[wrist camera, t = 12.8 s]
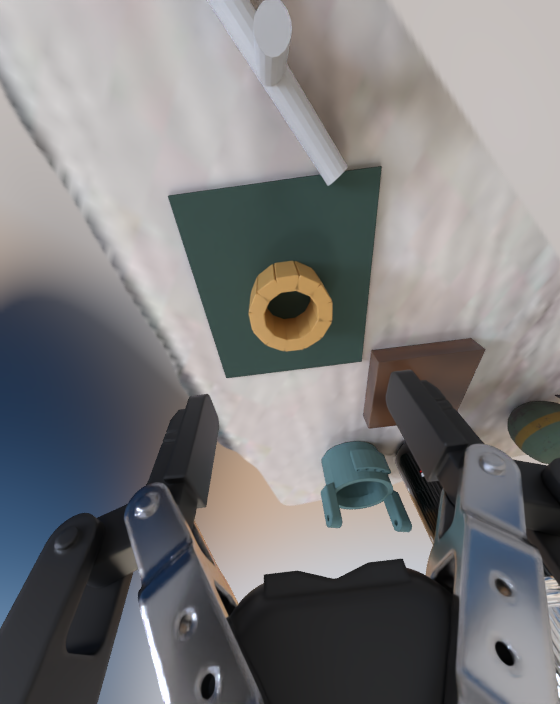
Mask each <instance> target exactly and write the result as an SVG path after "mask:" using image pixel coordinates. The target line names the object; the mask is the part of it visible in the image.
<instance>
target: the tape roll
mask: <svg viewBox="0 0 560 704" xmlns="http://www.w3.org/2000/svg"><path fill="white" fill-rule="evenodd" d="M291 291H298V292H301V293H303V294H305V295H308V296H310V303H309V305H308V306H307V308H306V310H305V312H303V313H302V314H300V315H299V316H297V317H296V318H289V319H282V318H279V317H277V316H274V315H272V313H271V312H270V311H269V310H268V309H267V306H268V304H269V302H270V301H271V300H272V299H273V298H275V297H276V296H278V295H279V294H280V293H283V292H291ZM332 310H333V303H332V299H331V297H330V296H329V294H328V292H327V290H326V289H325V287H324V285H323V283H322V282H321V280H320V279H319V277H318V276H317V274H316V273H315V271H314V270H312V268H310V267H308V266H306V265H304V264H301V263H299V262H297V261H295V262H294V261H286V262H278V263H274V265H273V264H272V265H270V266H269V267H268V268H267V269H265V270H264V271H263V272H262V273H260V274H259V275H258V277H257V278H256V280H255V283H254V286H253V288H252V291H251V296H250V305H249V318H250V322H251V327H252V330H253V332H254V334H255V335H256V336H257V337H258V338H259V339H260V340H261V341H262V342H263V343H264V344H265V345H266V344H267V346H269V347H272V348H275V349H278V350H281V351H284V350H285V351H294V350H302V349H304V348H307V347H309V346H311V345H312V344H314V343H315V342H317V341H319V340H320V339H321V338H323V336H324V334H325V333H326V331H327V330H328V328H329V326H330V325H331V323H332Z"/></svg>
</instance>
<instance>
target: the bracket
mask: <svg viewBox="0 0 560 704" xmlns="http://www.w3.org/2000/svg"><path fill="white" fill-rule="evenodd" d="M322 467H323V472H324V477H325V482H326V486H325V487H324V488H323V489H322V491H321V497H322V502H323V508H324V514H325V519H326V525H327V527H331V528H340V527H341V526H342V517H341V513H340V508H342V509H362V508H367V507H371V506H374V505H377V504H379V503H381V502H383V501H384V503H385V506H386V508H387V511H388V514H389V516H390V519H391V521H392V524H393V527H394V530H396V531H398V532H410V531H411V529H412V524H411V522H410V519H409V517H408V515H407V512H406V510H405V508H404V505H403V503H402V501H401V498H400V496H399V494H398V492H396V491H394V490H393V486H392V484H391V481H390V479H389V477H388V474H390V473H391V471H390V469H389V466H388V464H387V462H386V459H385V457H384V455H383V454H382V453H380V452H378V451H377V449H376V447H375V446H373V445H372V444H370V443H366V442H360V441H354V442H347V443H343V444H339V445H337V446H335V447H333V448H331V449H330V450H328V451H327V452H326V454H325V455H324V457H323V458H322Z"/></svg>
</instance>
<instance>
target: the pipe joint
mask: <svg viewBox="0 0 560 704" xmlns="http://www.w3.org/2000/svg"><path fill="white" fill-rule="evenodd" d="M207 1H208V3H209V4H210V6H211V7H212V9H213V11H214V12H215V14H216V15H217V17H218V18H219V20H220V21H221V23H222V24H223V26H224V27H225V29H226V30H227V32H228V34H229V35H230V37H231V38H232V40H233V41H234V43H235V44H236V46H237V47H238V49H239V50H240V52H241V54H242V55H243V57H244V58H245V60H246V61H247V63H248V64H249V66H250V67H251V69H252V70H253V72H254V73H255V75H256V77H257V78H258V80H259V81H260V83H261V84H262V86H263V87H264V89H265V90H266V92H267V93H268V95H269V96H270V98H271V100H272V101H273V103H274V104H275V106H276V107H277V109H278V110H279V112H280V113H281V115H282V116H283V118H284V119H285V121H286V123H287V124H288V126H289V127H290V129H291V130H292V132H293V133H294V135H295V136H296V138H297V139H298V141H299V142H300V144H301V146H302V147H303V149H304V150H305V152H306V153H307V155H308V156H309V158H310V159H311V161H312V162H313V164H314V165H315V167H316V169H317V170H318V172H319V173H320V175H321V176H322V178H323V179H324V181H325V182H326V184H327V185H328V186H329V185H330V184H332V183H333V182H334V181H335V180H336V179H337V178H338V177H339V176H340V175H341V174H342V173H343V172H344V171H345V170H346V169H347V167H348V166H347V164H346V163H345V161H344V159H343V158H342V156H341V154H340V152H339V151H338V149H337V147H336V146H335V144H334V142H333V141H332V139H331V137H330V136H329V134H328V132H327V130H326V129H325V127H324V125H323V124H322V122H321V120H320V119H319V117H318V115H317V113H316V112H315V110H314V108H313V107H312V105H311V103H310V102H309V100H308V98H307V97H306V95H305V93H304V91H303V90H302V88H301V86H300V85H299V83H298V81H297V80H296V78H295V76H294V75H293V73H292V71H291V69H290V68H289V66H288V64H287V59H288V53H289V47H290V41H291V34H292V25H291V18H290V15H289V13H288V10H287V8H286V7H285V5H284V4H283V3H282V1H281V0H264V1H263V2H262V3H261V4H260V5H259V7H258V9H257V11H256V10H255V8H254V7H253V5H252V3H251V2H250V0H207Z"/></svg>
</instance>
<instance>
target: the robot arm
mask: <svg viewBox="0 0 560 704" xmlns="http://www.w3.org/2000/svg"><path fill="white" fill-rule="evenodd" d="M386 404H387V407H388V410H389V412H390V414H391V415H392V417H393V419H394V421H395V423H396V425H397V426H398V428H399V430H400V432H401V434H402V436H403V437H404V439H405V441H406V443H407V445H408V447H409V449H410V450H411V452H412V454H413V456H414V458H415V460H416V461H417V463H418V465H419V467H420V469H421V471H422V473H423V474H424V476H425V478H426V480H427V482H431V481H439V482H440V484H441V485H442V487H443V489H442V491H441V497H440V504H439V511H438V518H437V525H436V532H435V539H434V543H433V547H432V549H431V552H430V556H429V559H428V564H427V569H426V575H424V574H422V573H420V572H417V571H415V570H412V569H409V568H406V566H405V564H404V561H403V559H395V560H387V561H378V562H370V563H367V564H365V565H363V566H361V567H359V568H357V569H355V570H353V571H351V572H349V573H347V574H345V575H343V576H341V577H339V578H337V579H332V578H327V577H323V576H319V575H314V574H310V573H305V572H301V571H291V572H282V573H275V574H266V575H264V583H263V584H261V585H259V586H258V587H256V588H255V589H253V590H252V591H251V592H250V593H248V594H247V595H246V596H245V597H244V598H243V599H242V600H241V602H240V603H239V604H238V602H237V600H236V598H235V596H234V594H233V592H232V590H231V588H230V586H229V584H228V583H227V581H226V579H225V577H224V576H223V574H222V573H221V571H220V569H219V568H218V566H217V564H216V562H215V560H214V558H213V556H212V554H211V552H210V550H209V548H208V546H207V544H206V542H205V540H204V538H203V536H202V535H201V532H200V530H199V528H198V527H197V525H196V523H195V521H194V519H195V514H196V509H197V508H203V507H206V505H207V497H208V492H209V485H210V479H211V474H212V468H213V462H214V456H215V449H216V443H217V437H218V431H219V420H218V416H217V413H216V411H215V408H214V406H213V403H212V401H211V398H210V396H209V395H208V394H204V395H196V396H190V397H189V399H188V403H187V405H186V408H185V409H181V410H178V412H177V413H176V414H175V415H174V416H173V418H172V419H171V420H170V423H169V426H168V429H167V431H166V432H167V433H166V434H165V437H164V439H163V443H162V445H161V448H160V450H159V453H158V456H157V459H156V461H155V464H154V467H153V470H152V473H151V475H150V478H149V481H148V483H147V484H146V486H144V487H143V488H141V489H140V490H139V491H137V492H136V493H135V495H134V496H133V497H132V498H131V500H130V501H129V503H128V504H126V505H124V506H122V507H120V508H118V509H116V510H113V511H111V512H109V513H107V514H104V515H102V516H100V517H98V518H96V517H94V516H93V515H91V514H89V513H81V514H78V515H75V516H73V517H71V518H70V519H68V520H66V521H65V522H64V523H63V524H61V525H60V526H59V527H58V528H57V529H56V530H55V531H54V532H53V534H52V535H51V536H50V538H49V539H48V541H47V542H46V544H45V546H44V548H43V550H42V552H41V553H40V555H39V557H38V559H37V561H36V563H35V565H34V567H33V568H32V570H31V572H30V574H29V576H28V578H27V580H26V582H25V583H24V585H23V587H22V589H21V591H20V593H19V595H18V597H17V598H16V600H15V602H14V604H13V606H12V608H11V610H10V611H9V613H8V615H7V617H6V619H5V621H4V623H3V624H2V626H1V628H0V704H97V702H98V698H99V695H100V691H101V688H102V684H103V680H104V677H105V673H106V670H107V666H108V662H109V659H110V655H111V651H112V648H113V644H114V640H115V637H116V633H117V629H118V626H119V622H120V619H121V615H122V611H123V608H124V604H125V600H126V597H127V593H128V589H129V586H130V582H131V578H132V575H133V572H134V571H136V570H138V571H139V574H140V577H141V582H142V587H141V589H140V590H139V592H138V603H139V607H140V612H141V616H142V620H143V623H144V627H145V631H146V635H147V639H148V643H149V647H150V650H151V654H152V658H153V662H154V666H155V670H156V673H157V677H158V681H159V685H160V689H161V693H162V697H163V700H164V704H560V697H559V692H558V684H557V676H556V668H555V660H554V651H553V643H552V635H551V627H550V619H549V610H548V602H547V594H546V586H545V578H544V570H543V563H544V564H545V565H546V567H547V568H548V570H549V571H550V573H551V574H552V576H553V577H554V579H555V580H556V582H557V583H558V585H559V586H560V458H556V459H554V460H553V461H552V462H551V463H550V464H549V465H548V466H546V465H541V464H535V463H529V462H523V461H517V460H513V459H512V458H511V457H510V456H508V455H507V454H506V453H504V452H503V451H501V450H499V449H497V448H495V447H493V446H490V445H486V444H484V443H483V442H482V441H481V440H480V438H479V437H478V436H477V435H476V434H475V432H474V431H473V430H472V429H471V428H470V426H469V425H468V424H467V423H466V422H465V420H464V419H463V418H462V417H461V416H460V414H459V413H458V412H457V411H456V409H453V406H452V405H451V403H450V402H449V401H448V400H446V397H445V396H444V395H443V394H442V393H441V391H440V390H439V389H438V388H437V387H435V386H434V385H433V384H431V383H430V382H428V381H427V380H421V381H420V379H419V378H418V377H417V375H416V374H415V373H414V372H413V371H412V370H402V371H394V372H391V374H390V378H389V383H388V388H387V392H386ZM528 540H529V541H528ZM542 561H543V562H542Z"/></svg>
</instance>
